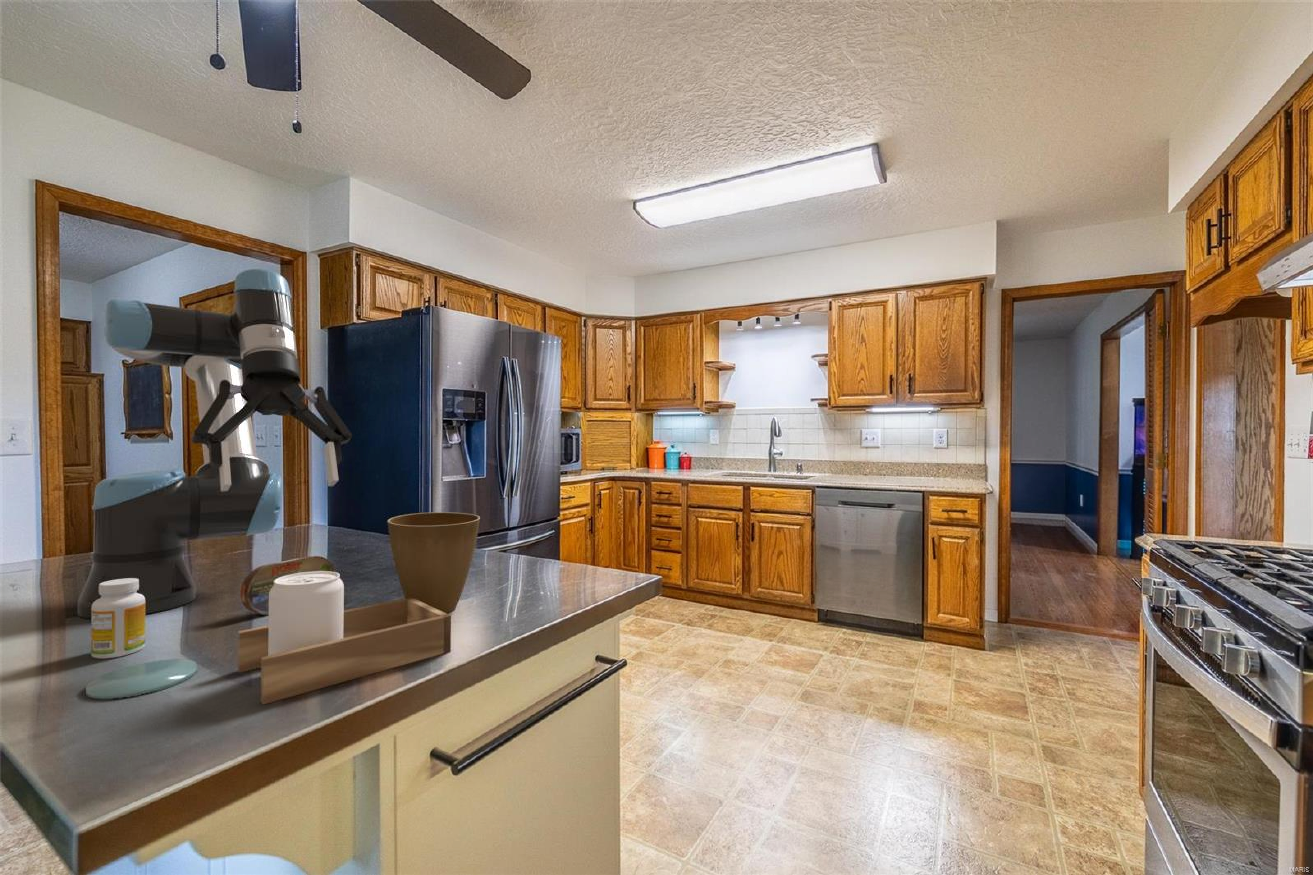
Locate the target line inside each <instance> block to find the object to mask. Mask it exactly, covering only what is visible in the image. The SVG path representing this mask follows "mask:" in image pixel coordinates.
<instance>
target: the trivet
mask: <svg viewBox="0 0 1313 875" xmlns="http://www.w3.org/2000/svg"><path fill="white" fill-rule="evenodd" d="M197 672H198V664H197V662H195V661H194V660H192V659H191V660H190V659H185V658H183V659H181V658H180V659H179V658H176V659H174V658H173V659H172V658H171V659H162V660H155V661H148V662H143V663H137V664H134V665H130V666H126V667H123V668H119V669H116V670H112V671H109V672H107V673H104V674H102V675H100V676H99V677H96V678H95V679H92V680H90V682H89V683H87V685H86V686H85V695H86V696H87V697H88V698H90V699H94V700H114V699H113V698H119V699H124V698H123V697H127V698H129V697H128V696H134V697H139V696H142V695H141V694H144V695H146V694H145V693H148V694H151V693H150V692H152V693H154V692H153V691H156V692H159V691H163V690H165V689H169V688H170V687H171V688H172V687H174V686H177V685H179V684H181V683H180V682H182V683H183V682H186V681H187V680H190V679H191V678H193V677H194V676H195V675H196V673H197ZM178 683H179V684H178ZM138 695H139V696H138Z"/></svg>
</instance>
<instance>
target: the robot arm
mask: <svg viewBox="0 0 1313 875" xmlns="http://www.w3.org/2000/svg"><path fill="white" fill-rule="evenodd" d="M233 294H235V295H234V296H235V302H234V307H233V310H232V312H231V313H226V312H224V313H223V312H218V311H217V312H216V311H210V310H209V311H208V310H200V309H196V308H195V309H190V308H185V307H184V308H183V307H178V306H171V305H170V306H169V305H165V304H164V305H163V304H156V303H149V302H142V301H141V300H140V301H139V300H126V299H111V300H109V301H107V303H106V307H105V327H104V337H105V342H106V344H107V345H108V346H109V347H111V348H112V349H113V350H115V351H116V352H118V353H119V354H121V355H122V356H124V357H127V358H130V359H133V360H136V361H140V362H144V363H148V364H151V365H158V366H165V367H177V368H184V372H185V375H186V376H187V377H188V378H190V379H191V380H192V381H193V382H195V383H194V384H195V391H196V401H197V409H198V417H199V423H198V424H197V427H196V429H195V430H194V432H193V434H192V437H191V441H192V443H193V444H201V445H202V455H203V464H202V465H200V466H199V467H198V469H197V470H196V472H195V476H186V473H185V471H184V469H180V468H179V469H177V468H176V469H165V470H153V471H144V472H138V473H137V472H136V473H130V474H129V473H128V474H124V475H117V476H112V477H107V478H104V479H102V480H100V481H99V482H98V483H97V484H96V485H95V488H94V498H93V505H92V506H91V509H92V510H93V516H94V517H93V519H94V520H93V541H92V542H93V543H92V544H93V546H92V547H93V548H92V549H93V550H92V557H93V558H92V560H93V561H92V568H91V569H90V570H91V571H90V572H89V575H88V578H87V579H86V582H85V583H84V586H83V589H82V590H81V593H80V595H79V597H78V600H77V612H76V614H77V615H78V617H80V618H85V619H91V609H92V604H93V603H94V601H96V600H97V599H100V598H101V595H99V584H100V583H102V582H106V581H110V580H116V579H125V578H136V579H139V589H138V590H137V591H136V592H137V593H138V594H142V595H143V596H144V597H145V615H148V614H151V613H159V612H163V611H167V610H170V609H174V608H178V607H181V606H184V605H187V604H189V603H191V602H193V601H194V600H196V584H195V581H194V579H193V577H192V574H191V572H190V569H189V568H188V564H187V562H186V560H185V557H184V545H185V544H184V543H185V542H186V541H187V542H189V541H196V540H197V541H198V540H208V539H219V538H229V537H241V536H246V537H250V536H251V535H257V534H258V535H259V534H265V533H268V532H271V531H272V530H273V529H274V528H275V527H276V525H277V522H279V521H278V520H279V516H280V512H281V508H282V499H283V478H282V476H281V474H279V473H275V472H273V473H270V470H269V469H270V468H269V466H268V464H267V463H266V462H265V461H264V460H262V459H260V458H258V454H257V446H256V439H255V434H254V427H253V420H252V416H253V415H254V414H255V413H256V412H257V413H259V414H261V415H262V416H271V415H275V416H281V417H285V416H286V415H290V416H291V417H292V418H293V419H295V420H298V421H299V422H301V423H302V424H303V425H304V426H305V427H306V428H308V429H309V431H311V432H312V433H313V434H314V435H315V436H317V437H318V438H319V439H320V440H321V441H322V442H323V443H324V444H325V446H324V447H323V450H322V451H323V457H324V464H325V466H324V467H325V472H326V479H327V481H326V482H327V486H328V487H334V486H335V485H336V484H337V483H338V482H339V481H340V480H339V479H340V478H339V472H338V466H339V465H340V464H341V462H342V461H343V454H342V453H343V452H342V448H341V445H346V444H348V442H349V441H350V440H351V438H352V437H353V434H352V432H351V431H350V430H349V428H348V426H347V425H346V424H345V422H344V421H343V419H341V416H339V415H338V413H337V411H336V410H335V409H334V407H333V406H332V405H331V403H330V402H329V400H328V399H327V397H326V393H325V392H326V391H325V389H324V387H323V386H316V388H315V389H304V388H303V386H302V383H301V375H300V368H299V367H300V366H299V361H298V352H297V350H298V349H297V342H296V334H295V325H294V314H293V307H292V299H293V297H292V295H291V291H290V286H289V283H288V280H286V278H285V277H284V276H283V275H281V274H279V273H278V272H276V271H273V270H267V269H263V268H251V269H246V270H243V271H241V272H239V273H238V274H237V275H236V276H235V279H234V289H233ZM304 398H305V399H307V400H308V401H309V403H310V404H313V406H314V408H315V410H316V412H318V414H319V415H320V416H321V418H322V419H323V421H324V422H323V421H322V419H321V418H319V417H318V416H317V415H316V414H315V413H314V412H313V411H311V409H310V408H309V407H308V405H307V403H305V402H304V401H303V399H304Z"/></svg>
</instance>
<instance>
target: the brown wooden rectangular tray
mask: <svg viewBox="0 0 1313 875" xmlns="http://www.w3.org/2000/svg"><path fill="white" fill-rule="evenodd" d="M268 633H269V624H268V625H263V626H258V627H254V628H249V629H248V628H247V629H244V630H238V631H237V672H238V671H239V672H238V674H240V673H245V672H249V671H253V670H252V669H254V670H257V669H256V668H258V669H260V703H261V704H262V705H266V704H269V703H274V702H277V701H280V700H284V699H288V698H292V697H295V696H299V695H302V694H306V693H309V692H312V691H315V690H319V689H323V688H326V687H330V686H334V685H337V684H341V683H343V682H348V681H351V680H356V679H358V678H361V677H362V678H363V677H365V676H368V675H372V674H376V673H379V672H384V671H387V670H390V669H394V668H397V667H401V666H404V665H405V666H406V665H408V664H412V663H415V662H419V661H421V660H422V661H423V660H426V659H429V658H432V657H436V656H439V655H440V656H441V655H442V654H447V653H450V652H452V649H451V648H452V645H451V644H452V641H451V640H452V615H450V614H448V613H444V612H442V611H440V610H438V609H435V608H433V607H431V606H429V605H427V604H425V603H423V602H420V601H418V600H416V599H414V598H412V597H409V598H405V597H404V598H401V599H400V598H399V599H395V600H394V599H393V600H389V601H386V602H379V603H375V604H369V605H365V606H359V607H354V608H349V609H344V619H343V639H338V640H334V641H330V642H325V643H321V644H317V645H312V646H308V647H304V648H299V649H295V650H291V651H286V652H282V653H278V654H273V655H269V656H268ZM248 670H249V671H248ZM244 671H245V672H244Z"/></svg>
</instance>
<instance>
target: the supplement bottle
mask: <svg viewBox="0 0 1313 875" xmlns="http://www.w3.org/2000/svg"><path fill="white" fill-rule="evenodd" d="M138 589H139V579H136V578H125V579H116V580H110V581H106V582H102V583H100V584H99V595H101V598H100V599H97V600H96V601H94V603H93V604H92V609H91V618H90V620H91V622H90V623H91V624H90V626H91V630H90V633H91V634H90V639H91V640H90V642H91V643H90V651H91V652H90V654H91V655H90V656H91V657H92V658H94V659H100V660H102V659H113V658H119V657H123V656H128V655H130V654H134V653H137V652H139V651H140V650H142V649H144V647H145V645H146V614H145V597H144V596H143V595H142V594H138V593H137V592H136V591H137V590H138Z"/></svg>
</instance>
